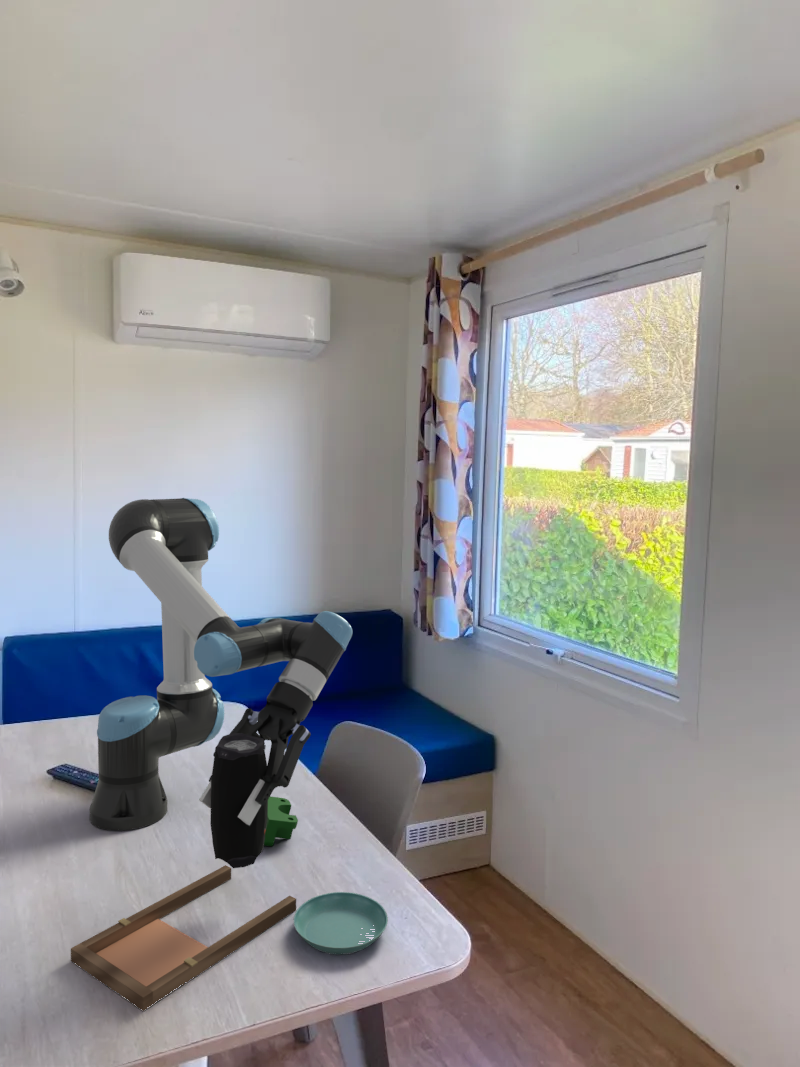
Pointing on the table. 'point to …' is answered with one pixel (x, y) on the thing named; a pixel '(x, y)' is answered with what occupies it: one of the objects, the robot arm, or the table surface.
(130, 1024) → the table surface
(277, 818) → the clamp
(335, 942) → the saucer
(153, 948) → the flat panel
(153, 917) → the rail track
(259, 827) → the portable speaker
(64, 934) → the table surface
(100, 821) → the robot arm
